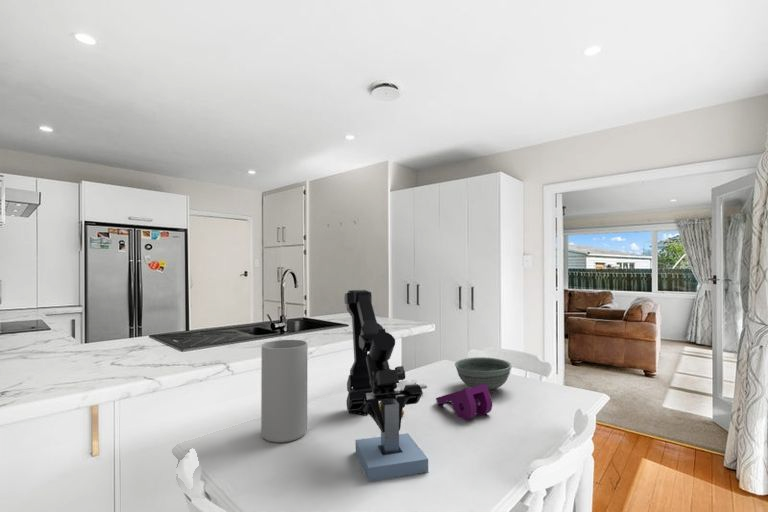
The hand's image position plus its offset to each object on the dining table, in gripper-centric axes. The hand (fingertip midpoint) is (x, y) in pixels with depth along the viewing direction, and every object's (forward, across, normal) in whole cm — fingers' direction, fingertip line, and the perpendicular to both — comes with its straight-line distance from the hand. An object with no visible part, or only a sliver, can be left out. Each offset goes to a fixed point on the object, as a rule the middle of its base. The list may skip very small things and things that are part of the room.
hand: (391, 431), depth 92 cm
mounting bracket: (-13, +31, +25) cm, 42 cm away
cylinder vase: (-11, -24, +23) cm, 35 cm away
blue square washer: (+5, 0, +6) cm, 8 cm away
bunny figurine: (-25, +18, +37) cm, 49 cm away
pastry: (-16, +9, +27) cm, 33 cm away
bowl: (-25, +49, +36) cm, 66 cm away
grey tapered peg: (+4, 0, +6) cm, 7 cm away
